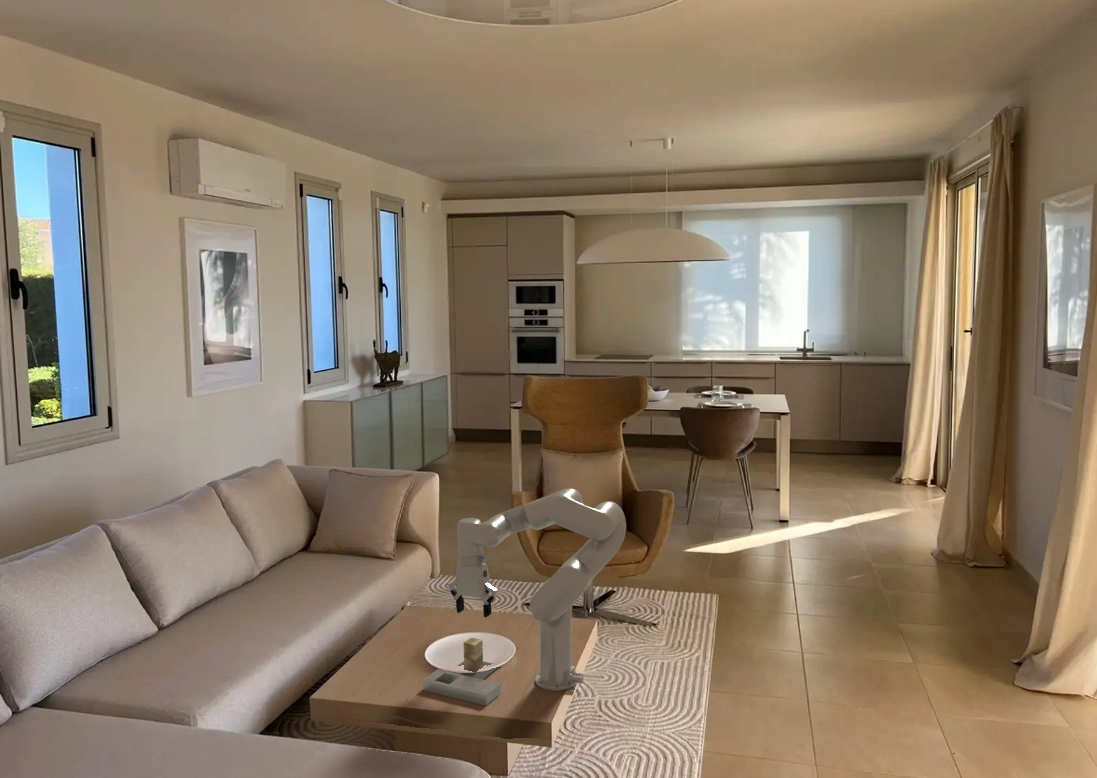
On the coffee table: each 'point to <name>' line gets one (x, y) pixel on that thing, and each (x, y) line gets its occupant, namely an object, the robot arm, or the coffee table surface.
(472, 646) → the birch peg
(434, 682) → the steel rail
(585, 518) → the robot arm
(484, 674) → the charcoal mat
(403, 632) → the coffee table surface
